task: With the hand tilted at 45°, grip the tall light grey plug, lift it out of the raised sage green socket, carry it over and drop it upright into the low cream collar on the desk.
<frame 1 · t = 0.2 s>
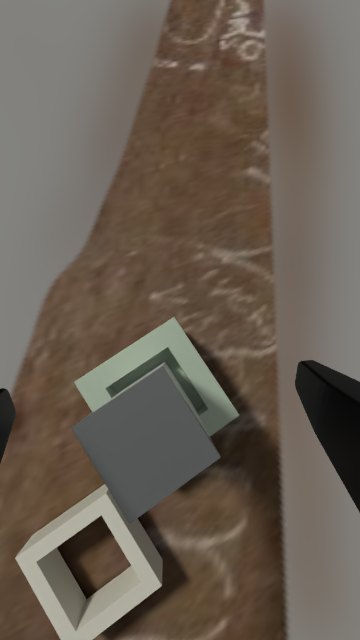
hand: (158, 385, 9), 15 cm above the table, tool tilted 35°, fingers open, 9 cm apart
plug: (158, 394, 21), point 2 cm above the table, touching raised socket
raised socket: (158, 391, 23), on the table
low collar: (97, 547, 21), on the table
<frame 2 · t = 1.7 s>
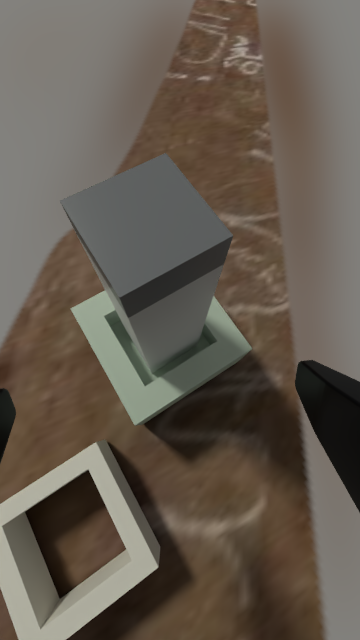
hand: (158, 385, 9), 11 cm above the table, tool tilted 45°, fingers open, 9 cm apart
plug: (161, 337, 19), point 2 cm above the table, touching raised socket
raised socket: (162, 345, 21), on the table
low collar: (80, 526, 17), on the table
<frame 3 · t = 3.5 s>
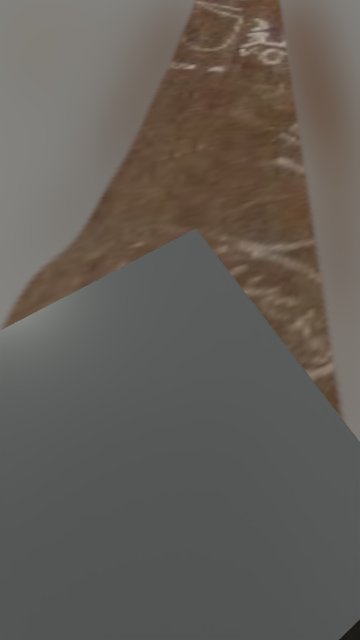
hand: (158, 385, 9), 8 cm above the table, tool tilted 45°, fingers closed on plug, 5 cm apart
plug: (165, 428, 14), point 2 cm above the table, touching gripper, raised socket
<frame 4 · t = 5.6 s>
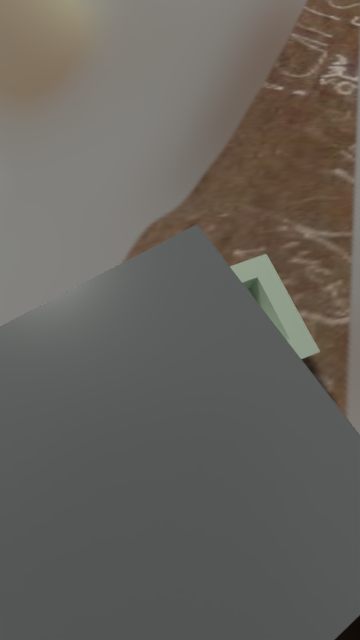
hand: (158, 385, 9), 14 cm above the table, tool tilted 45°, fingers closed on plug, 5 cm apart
plug: (166, 427, 14), point 8 cm above the table, touching gripper
raised socket: (230, 334, 24), on the table
when the fingers open (7 cm above the table, at t = 7.7 s): plug drops 2 cm, resting in low collar.
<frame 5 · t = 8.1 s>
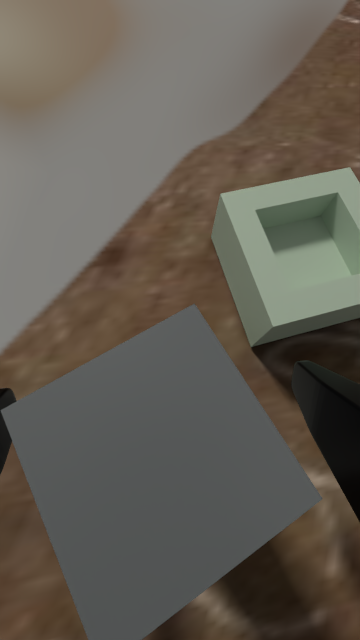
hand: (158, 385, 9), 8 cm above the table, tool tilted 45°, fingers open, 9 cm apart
plug: (167, 427, 16), resting in low collar
raised socket: (287, 274, 19), on the table
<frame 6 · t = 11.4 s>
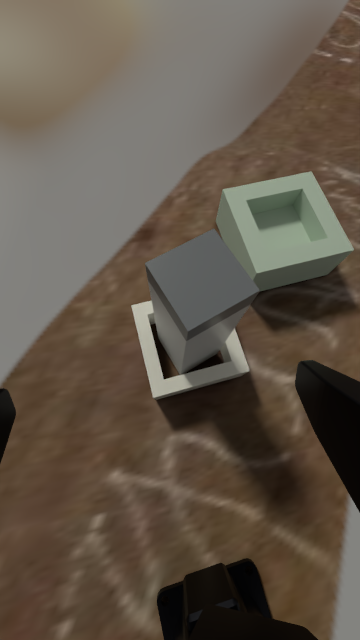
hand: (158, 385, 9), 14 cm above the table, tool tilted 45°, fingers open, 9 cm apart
plug: (187, 346, 23), resting in low collar
raised socket: (269, 247, 27), on the table
low collar: (186, 345, 23), on the table
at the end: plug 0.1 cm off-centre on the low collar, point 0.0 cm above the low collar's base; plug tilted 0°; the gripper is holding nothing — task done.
